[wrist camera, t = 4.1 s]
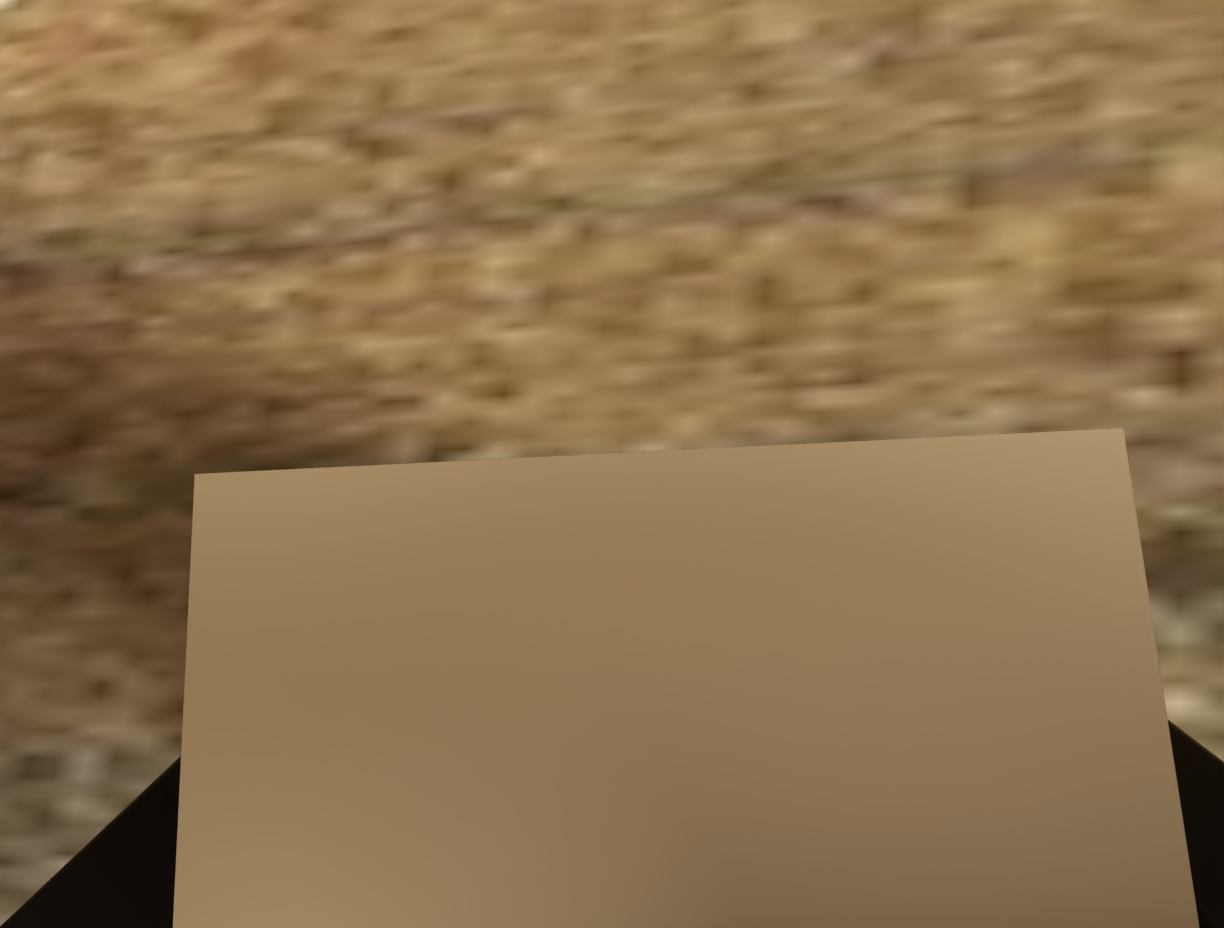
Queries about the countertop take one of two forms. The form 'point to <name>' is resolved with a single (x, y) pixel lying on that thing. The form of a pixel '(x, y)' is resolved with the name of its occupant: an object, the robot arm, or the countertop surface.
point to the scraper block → (680, 693)
